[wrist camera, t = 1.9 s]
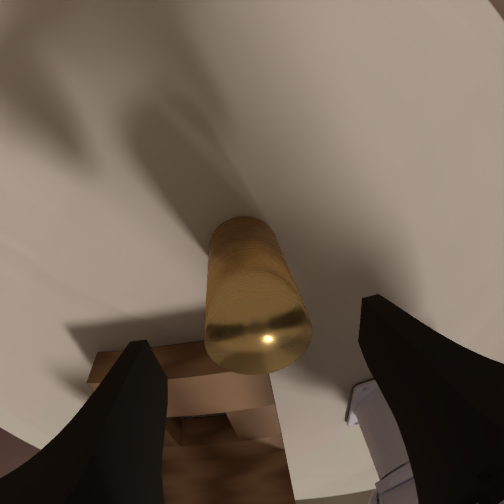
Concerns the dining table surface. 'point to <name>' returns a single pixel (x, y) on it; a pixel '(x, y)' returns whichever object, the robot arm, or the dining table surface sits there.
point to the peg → (252, 301)
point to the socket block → (215, 431)
